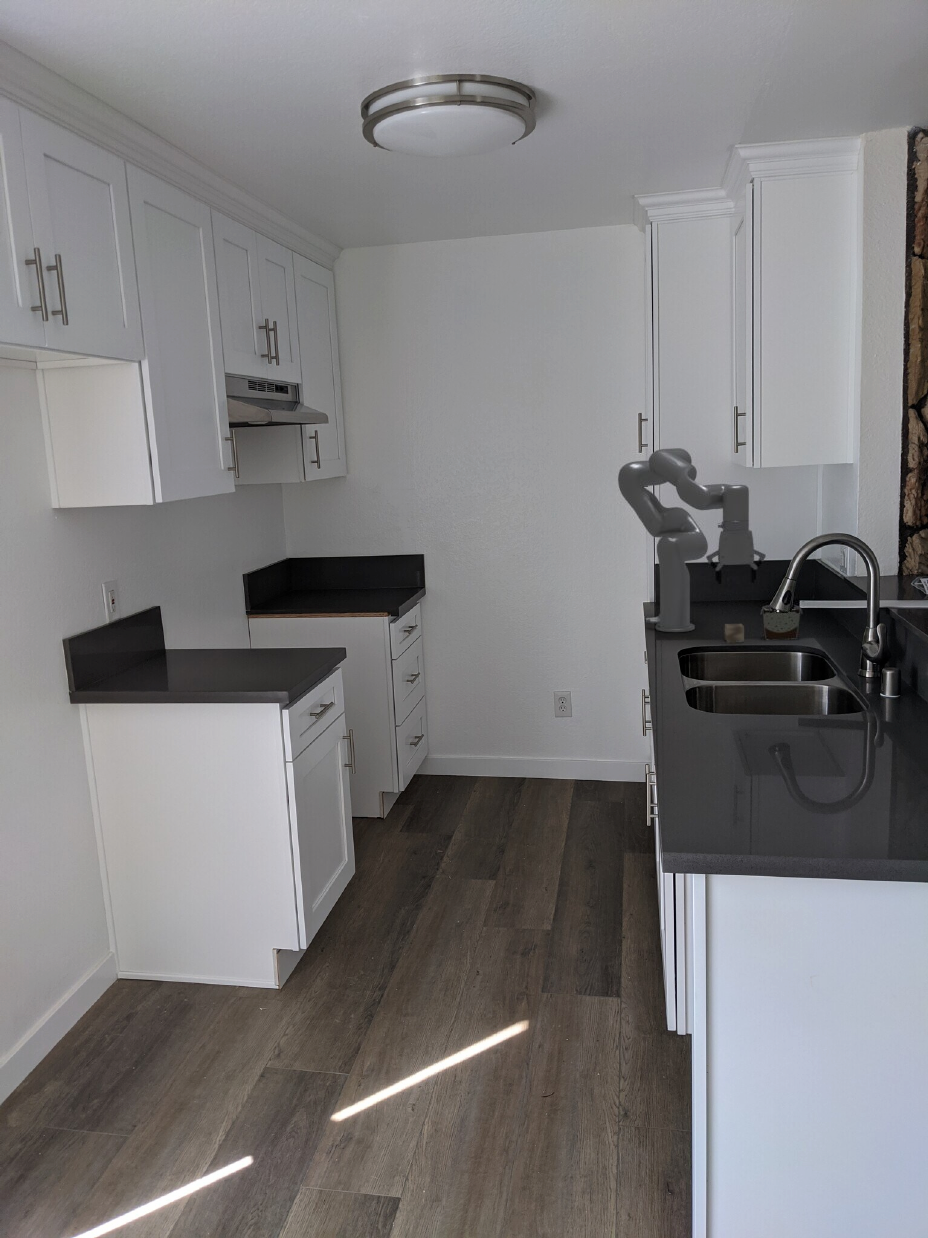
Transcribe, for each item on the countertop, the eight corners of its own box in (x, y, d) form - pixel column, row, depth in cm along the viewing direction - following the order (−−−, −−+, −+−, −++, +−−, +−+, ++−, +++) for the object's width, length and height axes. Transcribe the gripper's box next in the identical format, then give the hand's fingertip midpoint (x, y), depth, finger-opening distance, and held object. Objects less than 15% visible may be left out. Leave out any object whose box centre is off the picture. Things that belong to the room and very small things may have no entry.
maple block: (727, 643, 285) (727, 627, 284) (724, 639, 290) (724, 624, 289) (743, 643, 284) (744, 627, 283) (741, 639, 289) (741, 623, 288)
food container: (796, 635, 291) (797, 603, 289) (801, 639, 285) (802, 607, 283) (756, 636, 293) (756, 604, 291) (760, 640, 287) (760, 608, 285)
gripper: (707, 528, 278) (708, 585, 281) (767, 526, 275) (767, 583, 278) (704, 526, 285) (705, 582, 288) (763, 524, 283) (762, 580, 286)
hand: (735, 582), depth 283 cm, fingers open, 9 cm apart
